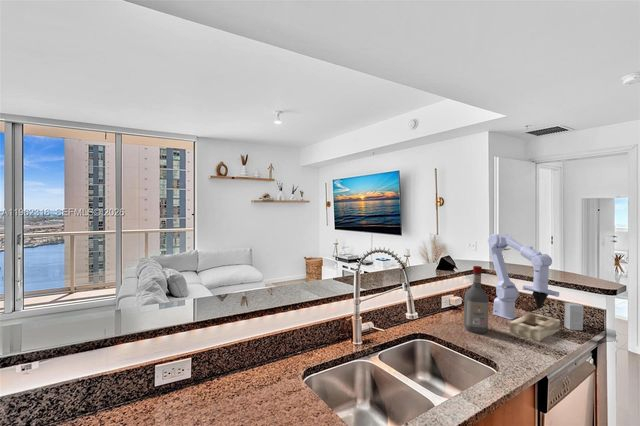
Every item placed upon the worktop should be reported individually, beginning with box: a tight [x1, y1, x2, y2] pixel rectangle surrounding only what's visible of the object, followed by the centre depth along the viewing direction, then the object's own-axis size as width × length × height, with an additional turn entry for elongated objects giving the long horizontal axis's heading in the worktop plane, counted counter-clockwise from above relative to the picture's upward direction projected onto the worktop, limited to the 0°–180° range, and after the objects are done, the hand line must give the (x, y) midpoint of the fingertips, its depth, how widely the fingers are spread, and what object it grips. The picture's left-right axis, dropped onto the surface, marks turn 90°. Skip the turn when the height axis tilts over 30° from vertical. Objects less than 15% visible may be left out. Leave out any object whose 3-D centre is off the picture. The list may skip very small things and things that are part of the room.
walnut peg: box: [524, 312, 536, 326], centre depth 144 cm, size 4×4×5 cm
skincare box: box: [563, 302, 584, 331], centre depth 152 cm, size 6×4×12 cm
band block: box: [509, 312, 561, 343], centre depth 148 cm, size 12×24×5 cm, turn 126°
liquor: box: [463, 265, 490, 334], centre depth 149 cm, size 9×9×30 cm
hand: (539, 307), depth 150 cm, fingers closed
